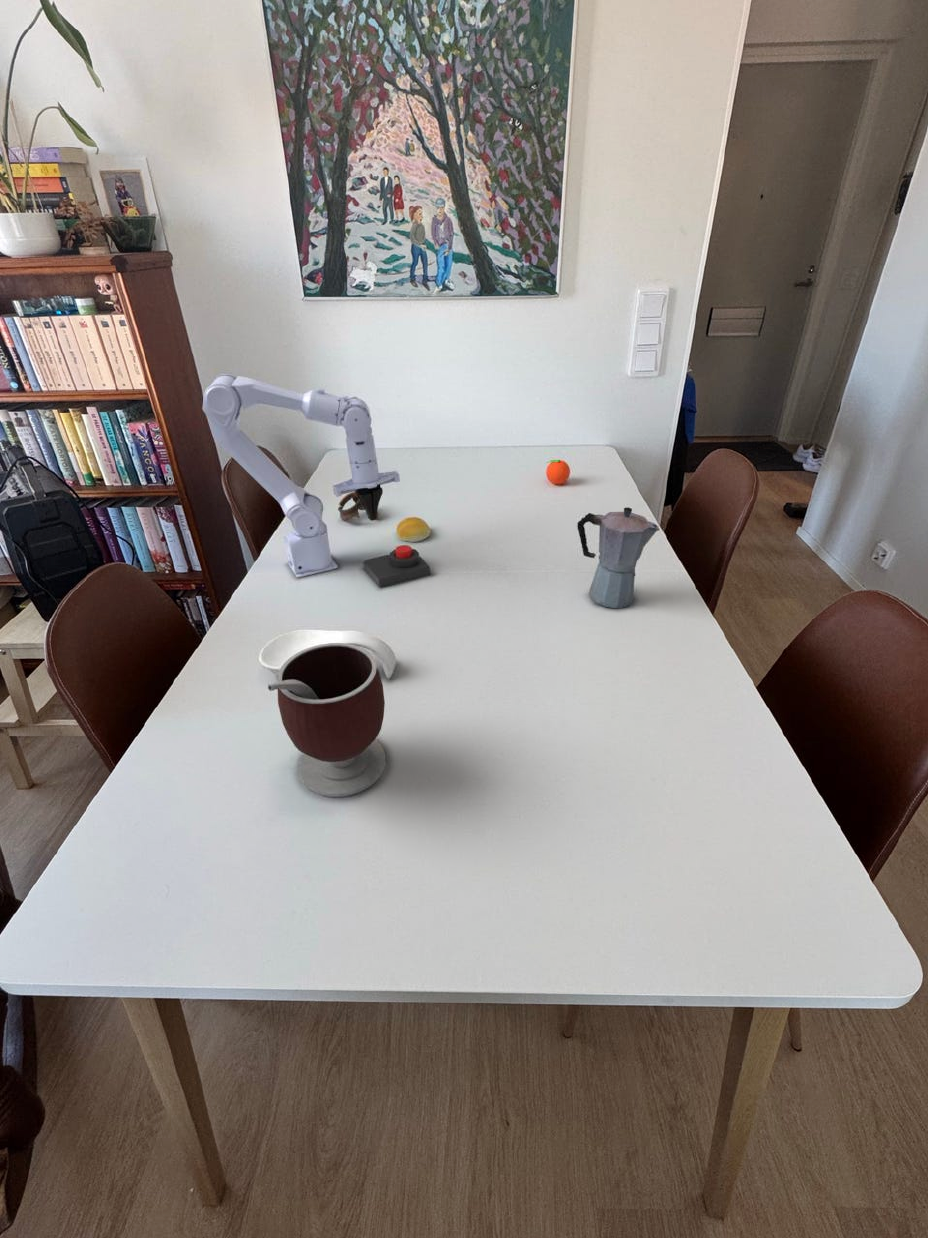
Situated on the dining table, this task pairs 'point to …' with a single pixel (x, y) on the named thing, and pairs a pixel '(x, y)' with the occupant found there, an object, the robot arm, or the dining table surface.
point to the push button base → (396, 568)
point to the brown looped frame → (353, 510)
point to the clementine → (557, 471)
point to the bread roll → (413, 529)
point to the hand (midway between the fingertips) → (372, 518)
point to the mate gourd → (333, 716)
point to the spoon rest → (299, 640)
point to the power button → (403, 551)
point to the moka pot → (616, 554)
